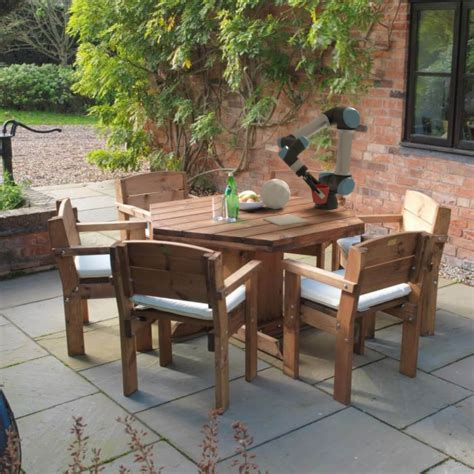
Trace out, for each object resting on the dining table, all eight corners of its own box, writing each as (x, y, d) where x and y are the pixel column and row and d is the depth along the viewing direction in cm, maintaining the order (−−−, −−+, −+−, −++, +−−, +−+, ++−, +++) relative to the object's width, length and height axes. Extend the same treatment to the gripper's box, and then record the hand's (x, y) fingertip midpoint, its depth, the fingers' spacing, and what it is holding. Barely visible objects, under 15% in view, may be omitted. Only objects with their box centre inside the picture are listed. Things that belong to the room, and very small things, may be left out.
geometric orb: (278, 216, 475) (294, 191, 477) (281, 212, 455) (297, 185, 457) (253, 201, 475) (269, 176, 477) (255, 196, 455) (271, 170, 457)
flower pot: (328, 204, 428) (328, 188, 425) (309, 203, 430) (310, 187, 427) (329, 200, 438) (330, 184, 435) (311, 199, 440) (311, 184, 437)
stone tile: (291, 215, 448) (291, 214, 448) (308, 222, 433) (308, 220, 433) (263, 219, 438) (263, 218, 438) (279, 225, 423) (279, 224, 423)
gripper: (297, 169, 443) (322, 195, 444) (291, 176, 422) (317, 203, 422) (306, 161, 441) (331, 187, 441) (300, 167, 419) (327, 195, 420)
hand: (324, 195), depth 432 cm, fingers closed on flower pot, 11 cm apart
